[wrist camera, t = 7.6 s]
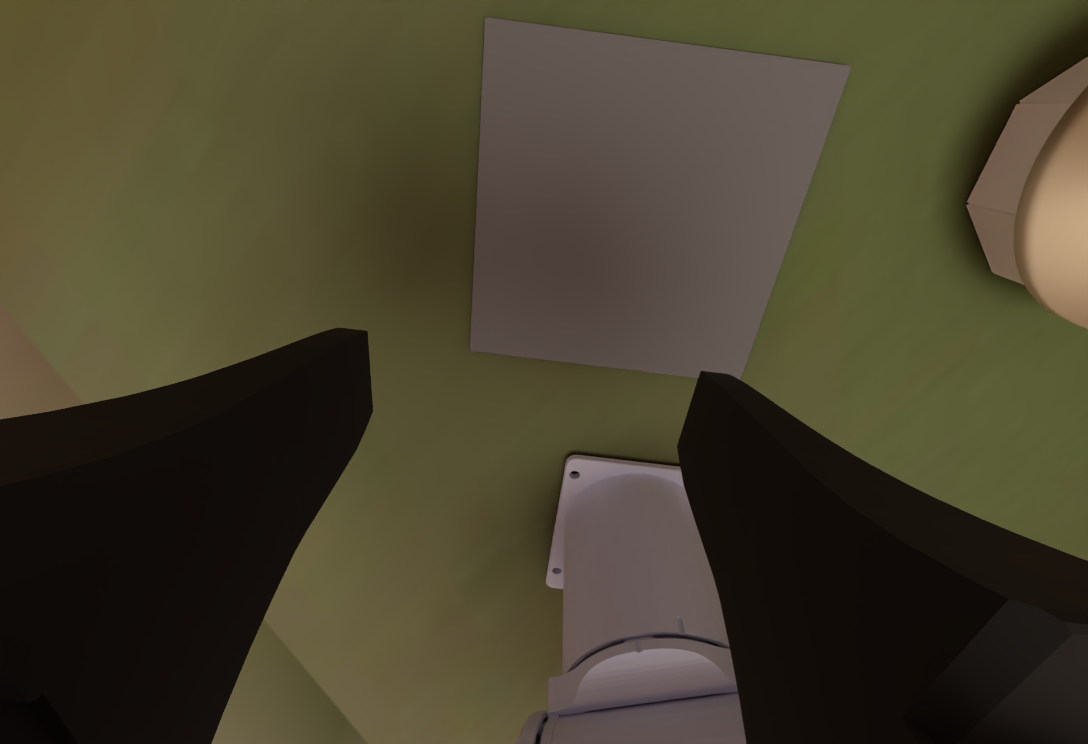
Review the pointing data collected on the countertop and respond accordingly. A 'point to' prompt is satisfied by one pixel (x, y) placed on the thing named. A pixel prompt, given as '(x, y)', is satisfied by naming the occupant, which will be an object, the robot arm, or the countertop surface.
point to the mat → (637, 195)
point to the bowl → (1018, 166)
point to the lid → (1057, 219)
